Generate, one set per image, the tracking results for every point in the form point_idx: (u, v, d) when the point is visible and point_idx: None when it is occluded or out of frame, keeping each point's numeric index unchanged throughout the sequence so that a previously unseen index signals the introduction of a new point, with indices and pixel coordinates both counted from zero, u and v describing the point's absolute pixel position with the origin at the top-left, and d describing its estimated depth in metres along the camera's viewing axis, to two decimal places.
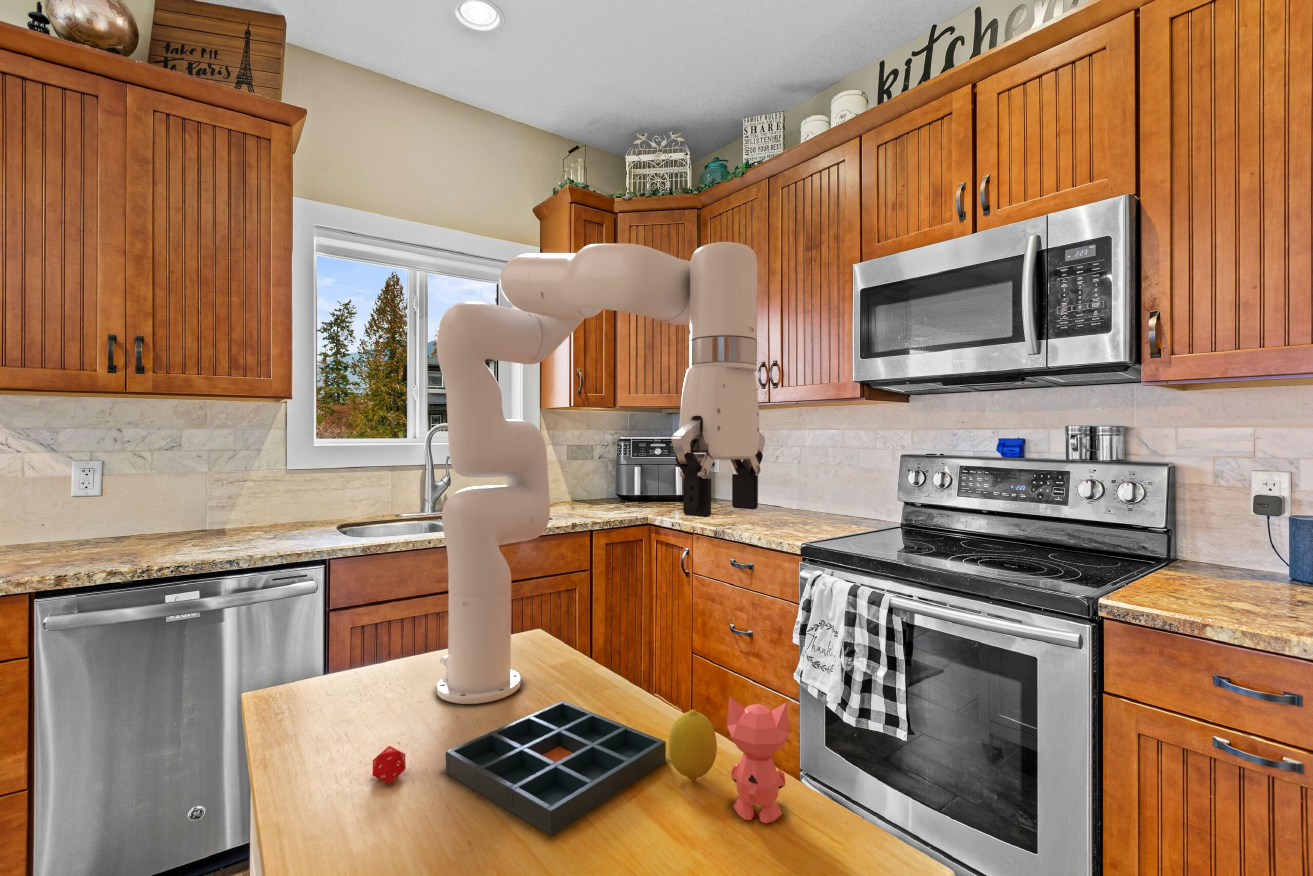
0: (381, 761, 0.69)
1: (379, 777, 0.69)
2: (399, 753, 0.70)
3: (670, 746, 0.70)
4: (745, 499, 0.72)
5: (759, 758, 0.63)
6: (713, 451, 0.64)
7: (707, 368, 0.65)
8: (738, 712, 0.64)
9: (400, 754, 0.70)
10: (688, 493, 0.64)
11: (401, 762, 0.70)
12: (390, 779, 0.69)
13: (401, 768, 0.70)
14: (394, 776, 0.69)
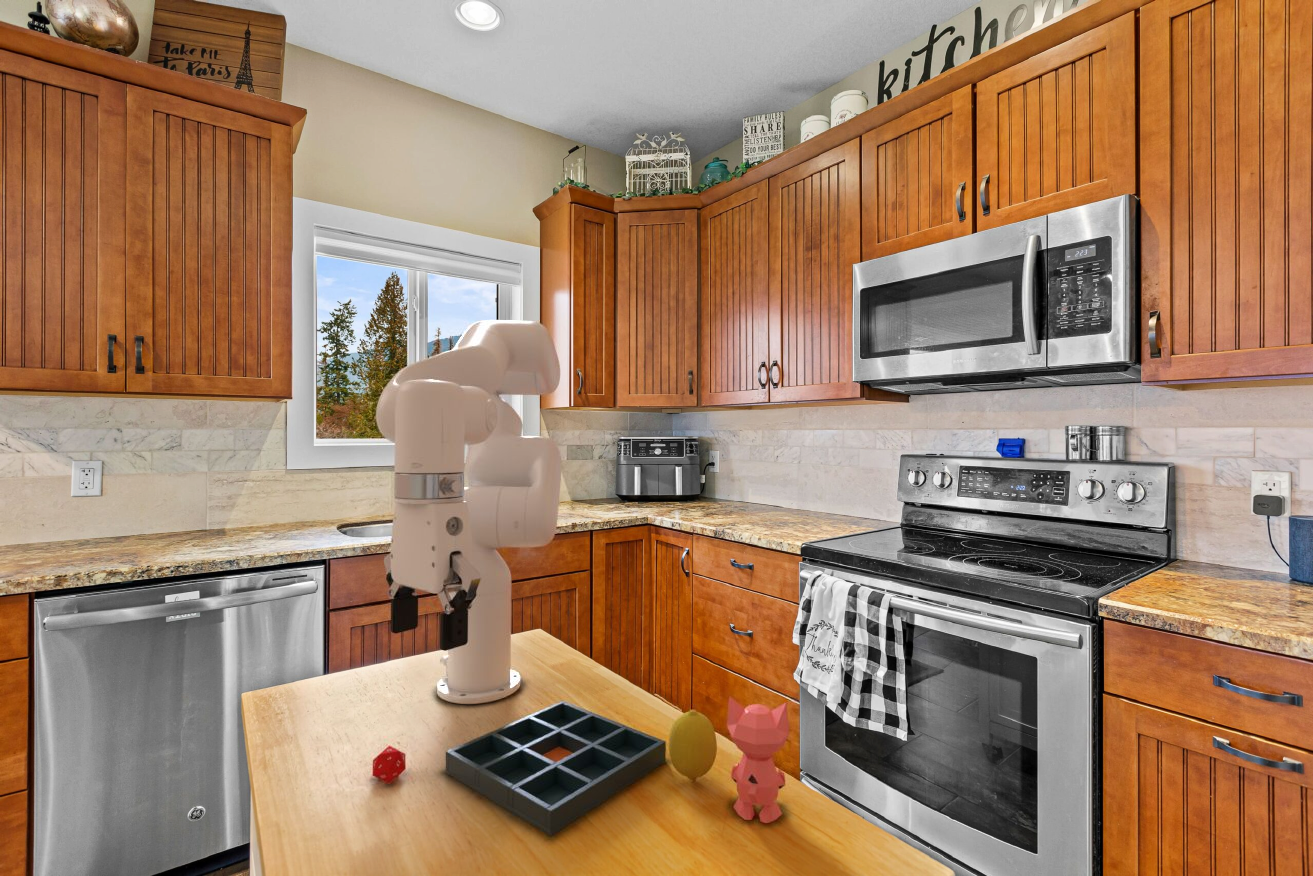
0: (381, 761, 0.69)
1: (379, 777, 0.69)
2: (399, 753, 0.70)
3: (670, 746, 0.70)
4: None
5: (759, 758, 0.63)
6: None
7: None
8: (738, 712, 0.64)
9: (400, 754, 0.70)
10: None
11: (401, 762, 0.70)
12: (390, 779, 0.69)
13: (401, 768, 0.70)
14: (394, 776, 0.69)
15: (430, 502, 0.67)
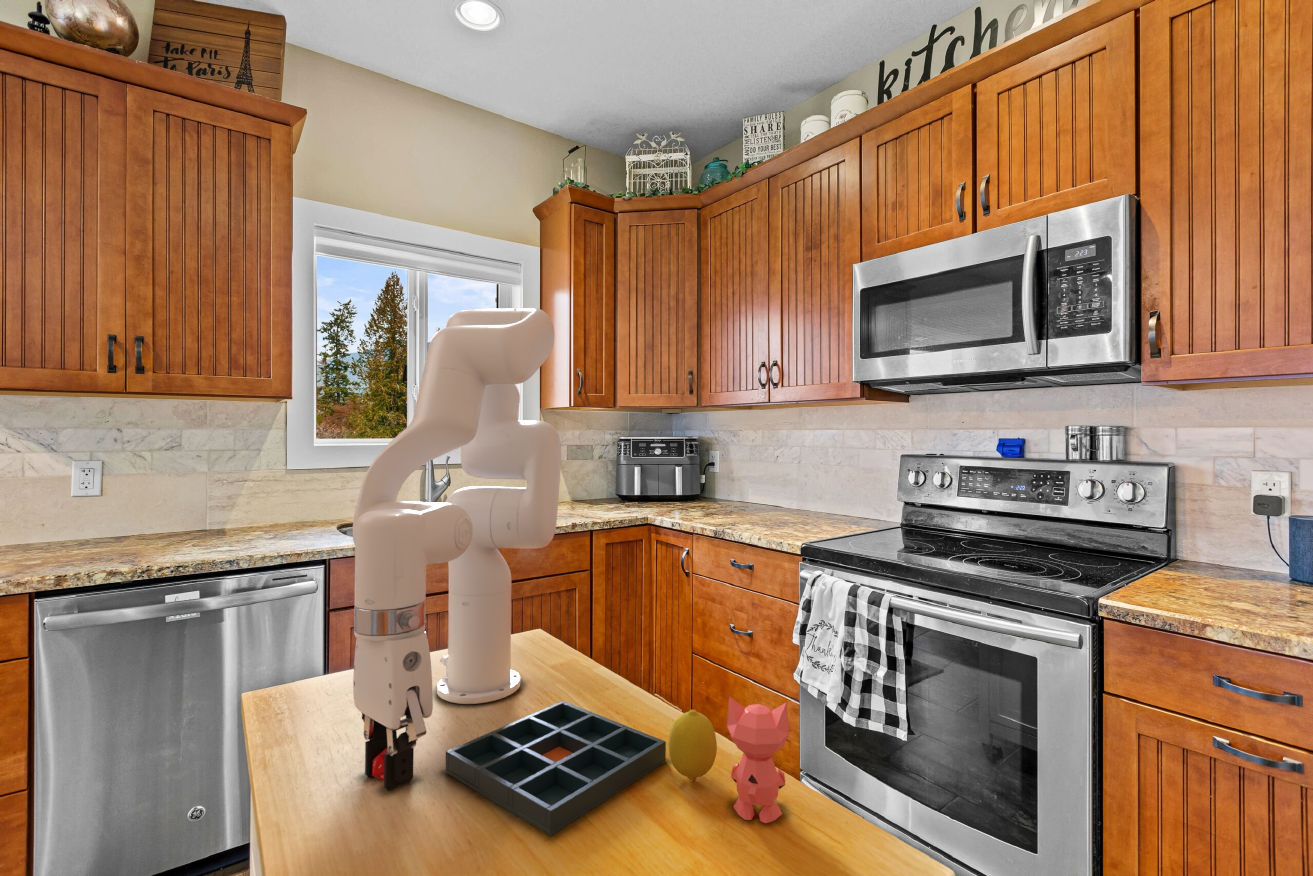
0: (381, 761, 0.69)
1: (379, 777, 0.69)
2: None
3: (670, 746, 0.70)
4: None
5: (759, 758, 0.63)
6: None
7: None
8: (738, 712, 0.64)
9: None
10: None
11: None
12: None
13: None
14: None
15: (387, 638, 0.67)
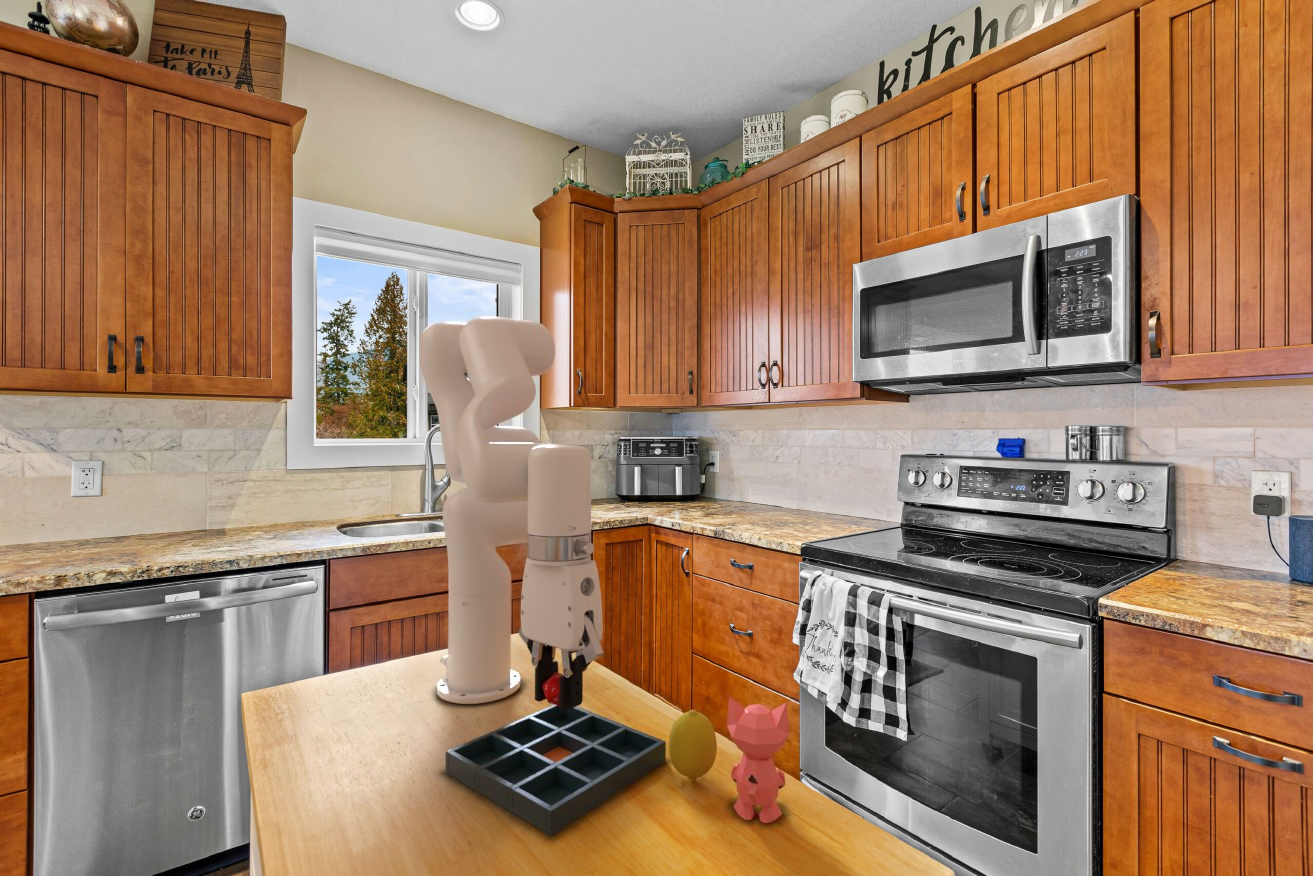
0: (553, 684, 0.72)
1: (552, 700, 0.72)
2: None
3: (670, 746, 0.70)
4: None
5: (759, 758, 0.63)
6: (522, 631, 0.75)
7: None
8: (738, 712, 0.64)
9: None
10: None
11: None
12: None
13: None
14: None
15: (565, 564, 0.70)
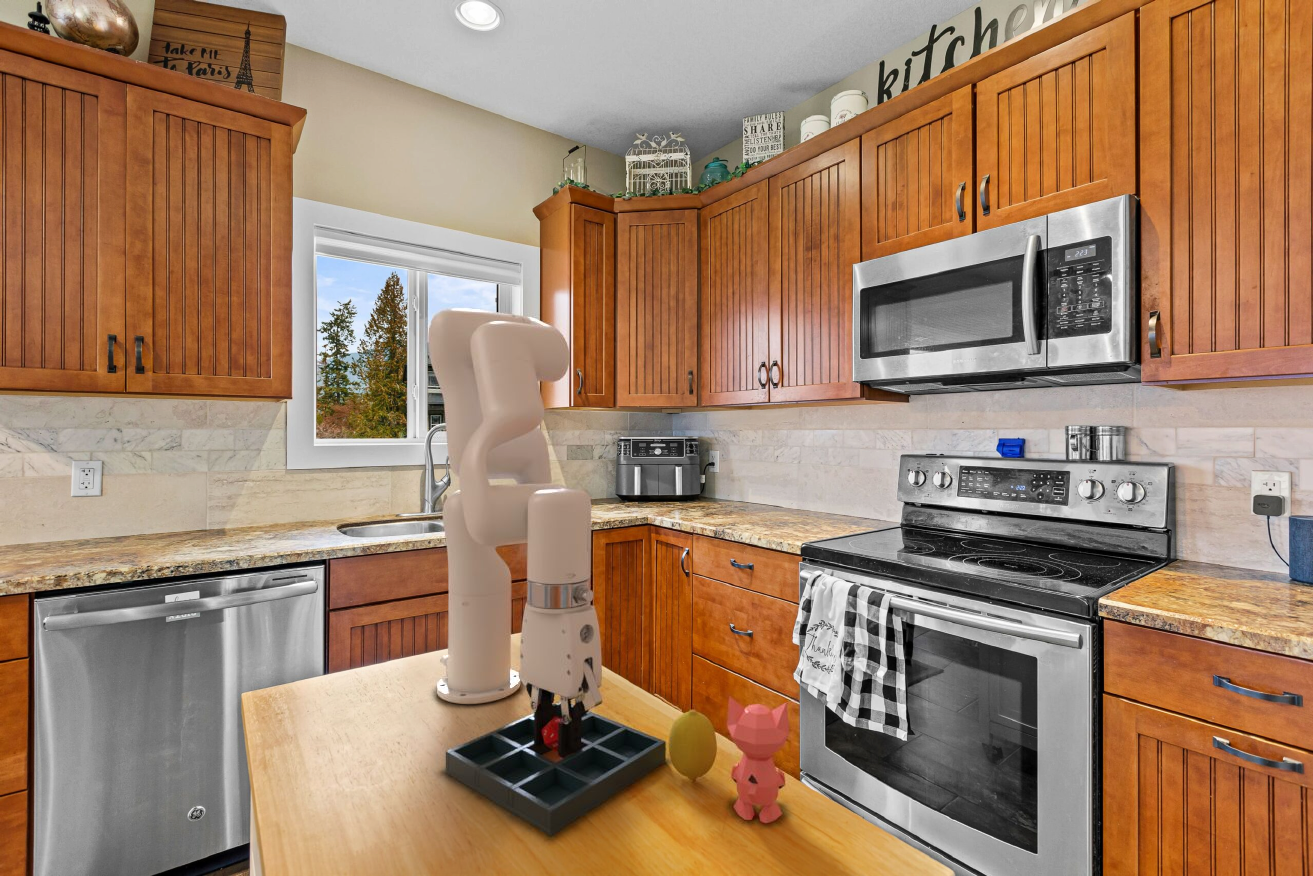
0: (552, 730, 0.72)
1: (551, 745, 0.72)
2: None
3: (670, 746, 0.70)
4: None
5: (759, 758, 0.63)
6: (521, 674, 0.75)
7: None
8: (738, 712, 0.64)
9: None
10: None
11: None
12: None
13: None
14: None
15: (564, 611, 0.70)
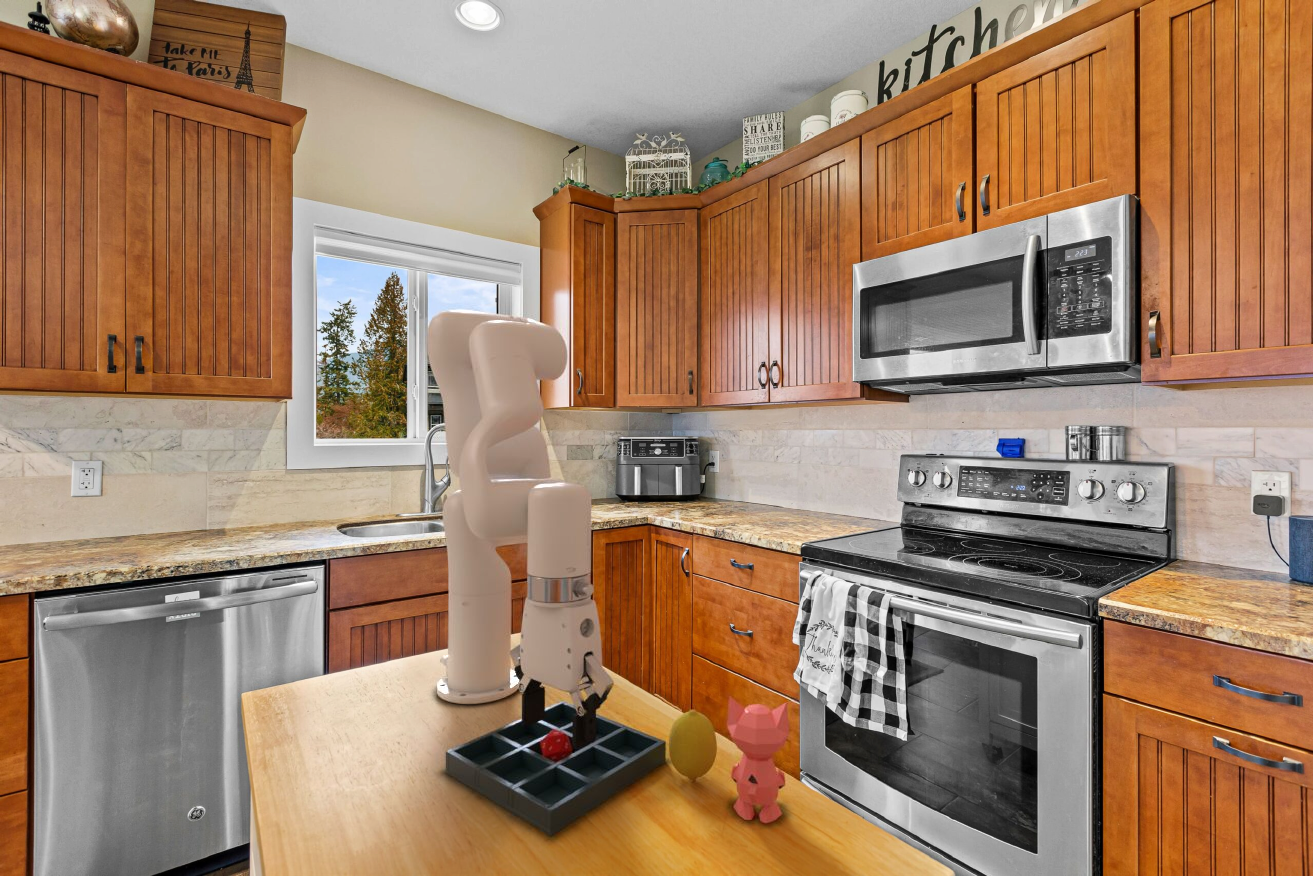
0: (551, 743, 0.72)
1: (550, 758, 0.72)
2: (566, 735, 0.73)
3: (670, 746, 0.70)
4: None
5: (759, 758, 0.63)
6: None
7: None
8: (738, 712, 0.64)
9: (566, 737, 0.73)
10: None
11: (568, 744, 0.73)
12: None
13: (569, 750, 0.73)
14: (563, 757, 0.72)
15: (564, 605, 0.70)
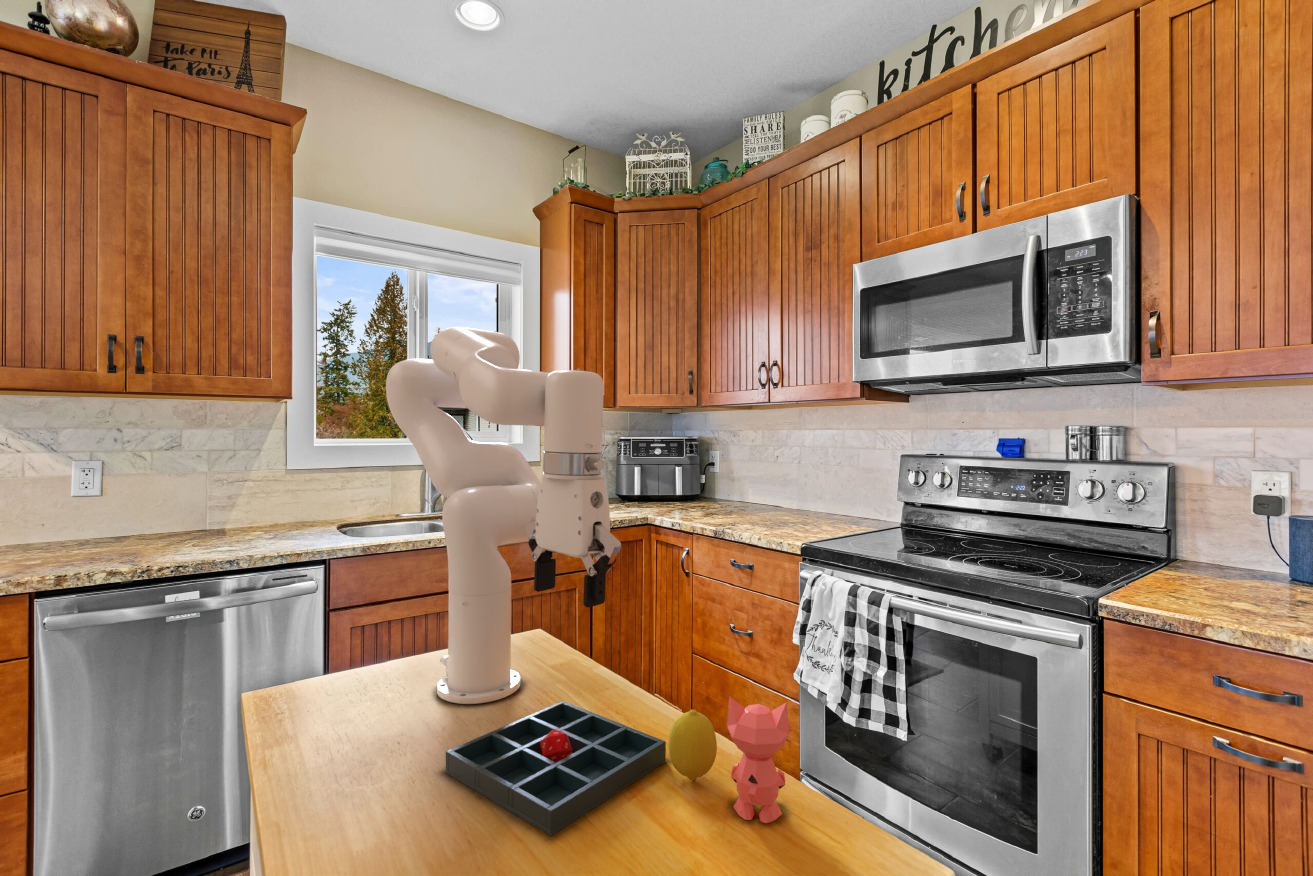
0: (551, 743, 0.72)
1: (550, 758, 0.72)
2: (566, 735, 0.73)
3: (670, 746, 0.70)
4: None
5: (759, 758, 0.63)
6: (536, 541, 0.82)
7: None
8: (738, 712, 0.64)
9: (566, 736, 0.73)
10: None
11: (568, 744, 0.73)
12: None
13: (569, 750, 0.73)
14: (563, 757, 0.72)
15: (577, 478, 0.76)
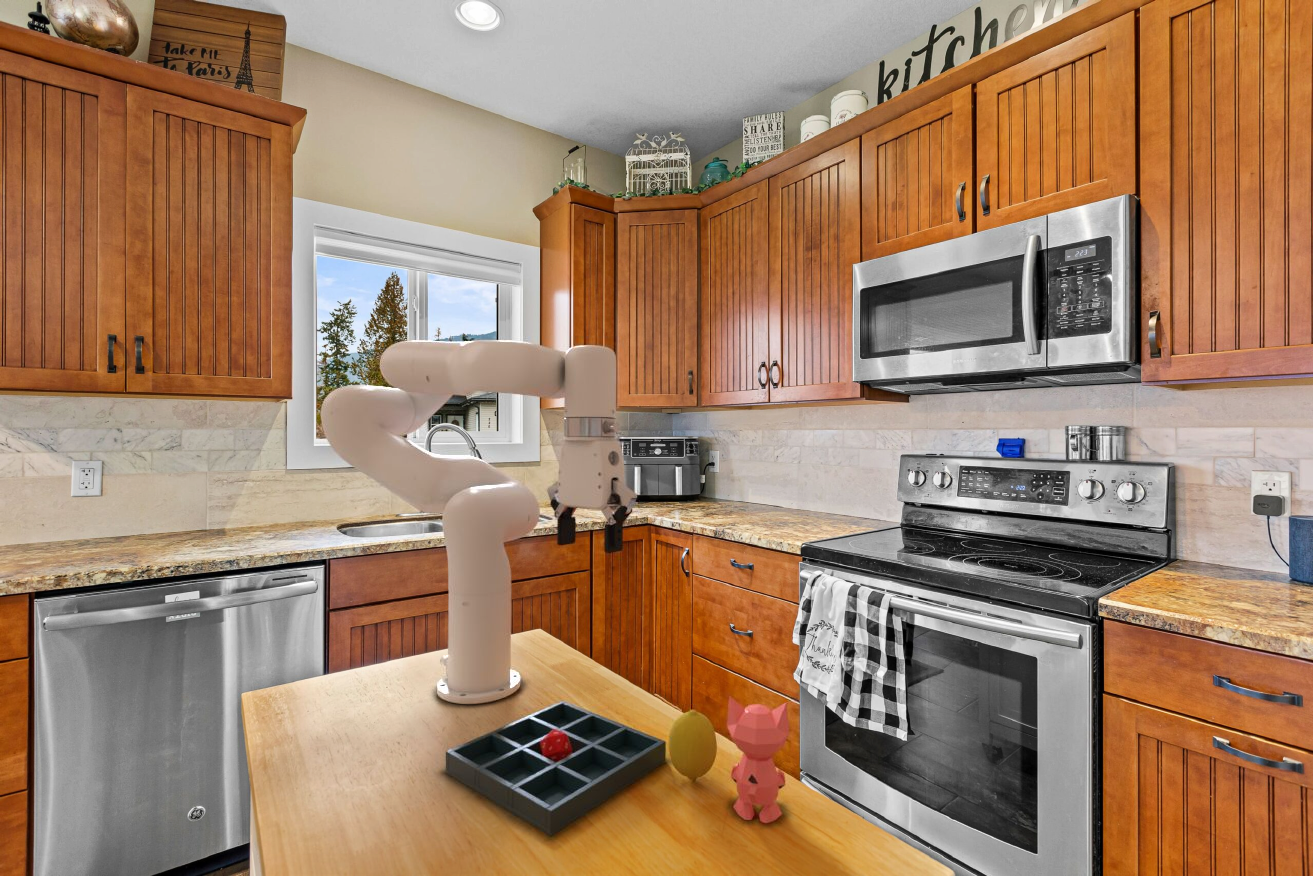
0: (551, 743, 0.72)
1: (550, 758, 0.72)
2: (566, 735, 0.73)
3: (670, 746, 0.70)
4: None
5: (759, 758, 0.63)
6: (559, 500, 0.91)
7: None
8: (738, 712, 0.64)
9: (566, 737, 0.73)
10: None
11: (568, 744, 0.73)
12: None
13: (569, 750, 0.73)
14: (563, 757, 0.72)
15: (596, 439, 0.87)
